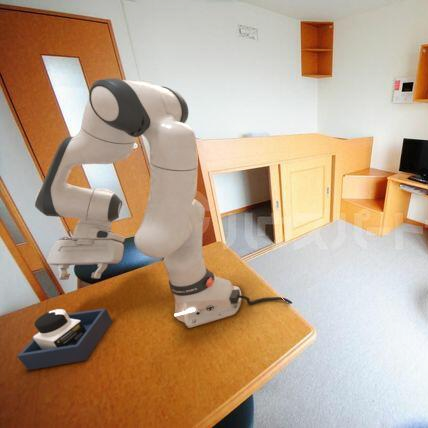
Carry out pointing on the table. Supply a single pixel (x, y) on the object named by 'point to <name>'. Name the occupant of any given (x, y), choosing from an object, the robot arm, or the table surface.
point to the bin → (95, 326)
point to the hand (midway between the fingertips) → (79, 279)
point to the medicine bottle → (58, 330)
